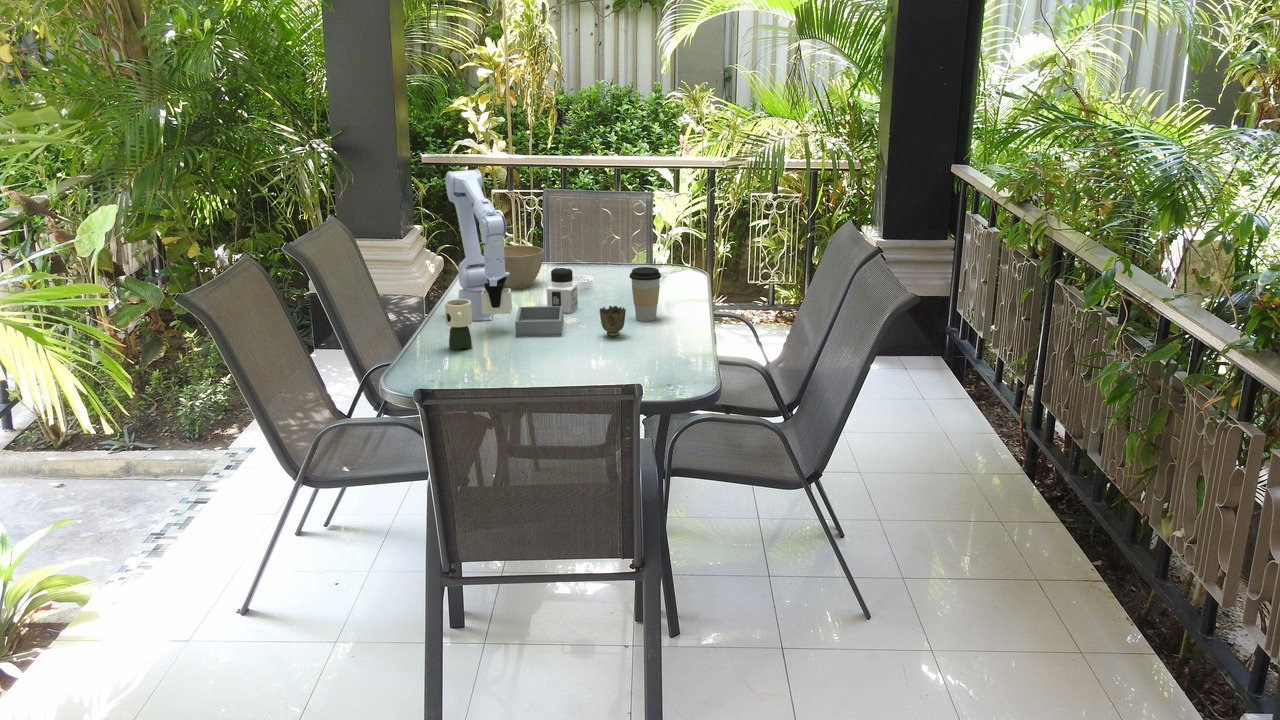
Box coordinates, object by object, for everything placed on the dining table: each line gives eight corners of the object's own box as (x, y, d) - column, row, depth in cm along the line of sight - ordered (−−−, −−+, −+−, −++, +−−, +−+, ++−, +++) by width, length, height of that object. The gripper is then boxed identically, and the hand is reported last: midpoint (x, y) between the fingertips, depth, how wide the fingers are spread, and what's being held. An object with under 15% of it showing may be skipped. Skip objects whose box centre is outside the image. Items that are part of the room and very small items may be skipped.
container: (571, 313, 325) (570, 272, 321) (547, 312, 327) (545, 271, 323) (578, 307, 333) (577, 266, 328) (554, 306, 334) (552, 265, 330)
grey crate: (515, 337, 303) (515, 321, 301) (519, 321, 318) (519, 306, 316) (561, 336, 303) (561, 320, 302) (563, 320, 318) (563, 306, 317)
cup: (606, 341, 298) (606, 313, 295) (595, 334, 304) (595, 307, 302) (630, 337, 301) (630, 310, 299) (619, 331, 307) (618, 304, 305)
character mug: (446, 342, 298) (443, 297, 294) (472, 341, 299) (469, 296, 295) (448, 354, 288) (445, 308, 284) (475, 352, 289) (472, 306, 285)
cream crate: (482, 314, 304) (481, 293, 302) (484, 309, 309) (483, 289, 307) (510, 313, 304) (509, 293, 302) (511, 308, 309) (510, 288, 307)
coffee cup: (666, 316, 321) (666, 268, 317) (653, 324, 313) (653, 274, 309) (637, 313, 325) (637, 265, 320) (624, 321, 317) (623, 272, 312)
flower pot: (555, 283, 361) (554, 248, 357) (522, 295, 347) (520, 258, 343) (513, 277, 370) (512, 242, 367) (479, 288, 356) (477, 252, 352)
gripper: (506, 263, 295) (508, 311, 299) (510, 252, 308) (512, 297, 313) (480, 264, 294) (483, 311, 299) (486, 252, 308) (488, 298, 312)
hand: (496, 304), depth 306 cm, fingers closed on cream crate, 5 cm apart
